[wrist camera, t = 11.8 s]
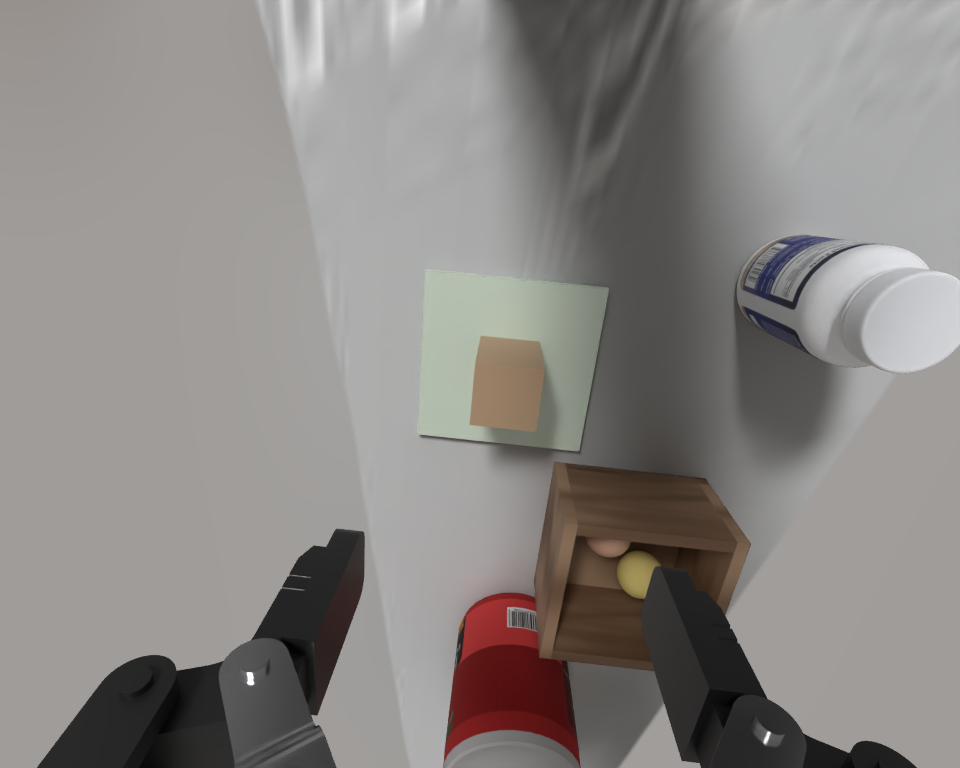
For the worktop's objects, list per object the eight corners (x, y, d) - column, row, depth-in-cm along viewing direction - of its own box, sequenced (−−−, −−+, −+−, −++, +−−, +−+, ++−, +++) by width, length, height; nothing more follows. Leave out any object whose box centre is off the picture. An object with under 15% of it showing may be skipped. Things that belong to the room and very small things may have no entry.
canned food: (442, 608, 38) (417, 762, 27) (537, 575, 36) (549, 726, 26) (485, 674, 40) (478, 840, 30) (577, 646, 38) (603, 811, 28)
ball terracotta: (585, 497, 33) (592, 525, 30) (630, 502, 33) (642, 531, 30) (577, 534, 34) (584, 565, 31) (621, 539, 34) (631, 570, 31)
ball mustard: (617, 538, 34) (627, 569, 31) (660, 543, 34) (674, 575, 31) (608, 573, 35) (617, 606, 32) (651, 578, 35) (663, 611, 32)
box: (554, 462, 33) (565, 523, 27) (705, 478, 32) (750, 544, 26) (534, 580, 36) (539, 657, 30) (669, 595, 36) (702, 676, 30)
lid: (428, 267, 29) (408, 285, 23) (606, 285, 29) (629, 307, 23) (419, 427, 33) (401, 475, 27) (577, 444, 33) (590, 495, 27)
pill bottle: (836, 315, 28) (992, 373, 19) (739, 339, 29) (844, 406, 20) (831, 220, 26) (1001, 234, 17) (728, 249, 27) (838, 276, 18)
